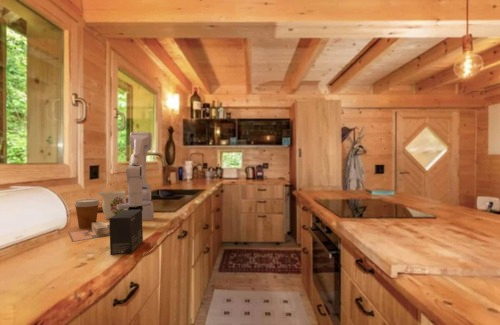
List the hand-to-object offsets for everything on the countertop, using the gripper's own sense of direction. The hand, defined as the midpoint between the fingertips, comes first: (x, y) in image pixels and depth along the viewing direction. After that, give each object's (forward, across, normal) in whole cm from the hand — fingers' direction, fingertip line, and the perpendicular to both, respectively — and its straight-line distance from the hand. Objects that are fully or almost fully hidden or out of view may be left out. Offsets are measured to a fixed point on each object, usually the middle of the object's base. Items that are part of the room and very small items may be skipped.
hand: (135, 224), depth 116 cm
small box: (+2, -9, -25) cm, 26 cm away
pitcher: (+2, -2, +27) cm, 27 cm away
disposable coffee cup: (+2, -16, +14) cm, 22 cm away
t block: (+1, -10, 0) cm, 10 cm away
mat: (+2, -13, 0) cm, 13 cm away
